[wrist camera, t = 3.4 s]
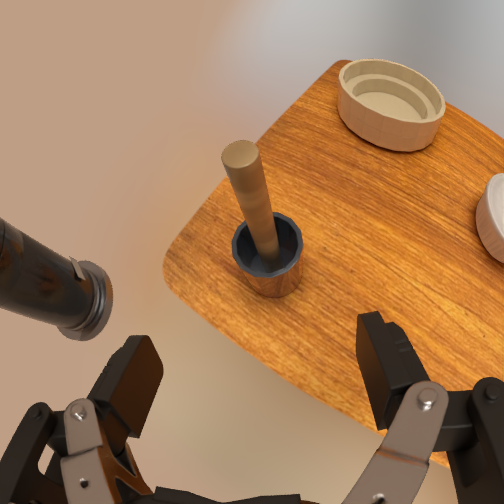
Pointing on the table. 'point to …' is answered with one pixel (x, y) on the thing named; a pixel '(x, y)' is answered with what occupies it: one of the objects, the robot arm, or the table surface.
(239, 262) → the utensil pot
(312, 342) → the table surface
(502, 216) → the ramekin
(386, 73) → the bowl
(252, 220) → the stick
